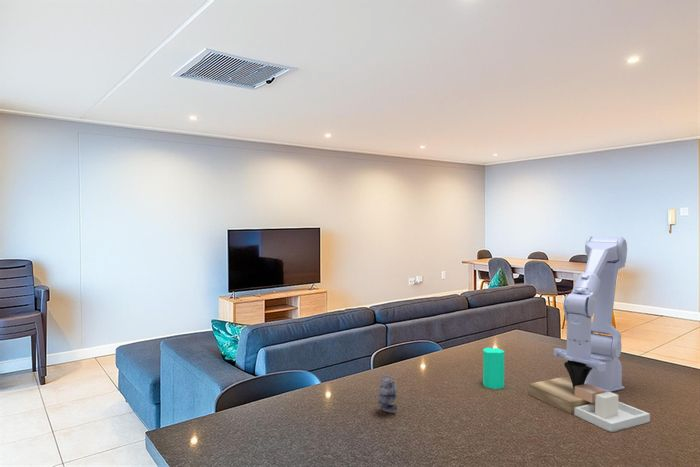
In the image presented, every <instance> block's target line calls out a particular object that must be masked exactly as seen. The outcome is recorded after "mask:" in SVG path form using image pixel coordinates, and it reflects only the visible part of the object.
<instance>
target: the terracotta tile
mask: <svg viewBox="0 0 700 467" xmlns="http://www.w3.org/2000/svg"><path fill="white" fill-rule="evenodd" d="M601 393H605V390H604V389H601V388H599V387H596V386H594V385H591V384H589V383H587V384H583V385H578V386H575V395H574V396H577V397H579V398H581V399H583V400H586V401H588V402H590V403H594V402H595V397H596V395H597V394H601Z"/></svg>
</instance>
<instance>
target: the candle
mask: <svg viewBox="0 0 700 467" xmlns="http://www.w3.org/2000/svg"><path fill="white" fill-rule="evenodd" d="M482 351H483V352H482V353H483V360H482V361H483V363H482V367H483V368H482V385H483V387H485V388H488V389H493V390H501V389H504V387H505V350H503V349H501V348H499V347H496V348H495V347H493V348H492V347H486V348H485V347H484V348H483V349H482Z"/></svg>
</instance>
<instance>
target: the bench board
mask: <svg viewBox="0 0 700 467" xmlns="http://www.w3.org/2000/svg"><path fill="white" fill-rule="evenodd" d="M527 386H528V389H527V391H528V394H527V395H528V396H531V397H534V398H535V399H538V400H540V401H542V402H544V403H546V404H548V405H550V406H553V407H555V408H557V409H559V410H562V411H564V412H565V413H568V414H569V415H572V414H575V407H579V406H583V405H587V404H592V403H590V402H588V401H586V400H583V399H581V398H579V397H577V396H574V395H575V390H574V389H573V385H572V381H571V378H570V377H566V376H560V377H557V378H551V379H545V380H542V381H536V382H530V383H528V384H527ZM594 403H595V402H594Z"/></svg>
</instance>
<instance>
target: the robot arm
mask: <svg viewBox="0 0 700 467" xmlns="http://www.w3.org/2000/svg"><path fill="white" fill-rule="evenodd" d="M584 244H585V246H584V248H585V249H584V251H585V254H586V258H587V260H586V265H585V268H584V272H580V273H579V275H578V276H577V279H576V280H575V283H574V285H573V288H572V290H571V292H570V293H569V294H566V295H565V297H564V298H563V304H562V305H563V308H562V309H563V313H564V321H566V349H563V348H559V347H558V348H557V347H556V348H553V356H554V357H559V358H563V359H565V360H567V361H565V362H564V363H563V365H564V367H565V368H566V369H565V370H566V371H567V373H568V376H569V379H571V381H572V385H573V389H574V390H575V386H578V385H583V384H587V383H589V384H591V385H594V386H596V387H599V388H601V389H604V390H605V392H611V393H612V392H615V391H619V390H620V391H621V390H624V389H625V386H623V384H622V383H623V382H622V381H623V378H622V377H623V373H622V372H623V367H622V363H621V360H620V359H619V357H620V356H621V353H622V335H621V334H622V333H621V332H620V331H619V330H618V329H617V328H616V327H615V326H613V325H612V322H613V313H614V304H615V296H616V287H617V278H618V273H619V270H621V269H622V268H623V269H624V268H625V267H626V263H627V256H628V255H627V254H628V242H627V240H626V239H625V238H624V237H623V236H621V237H605V236H602V237H601V236H589V237H588V238H586V241H585V243H584ZM592 317H593V319H592Z"/></svg>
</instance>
